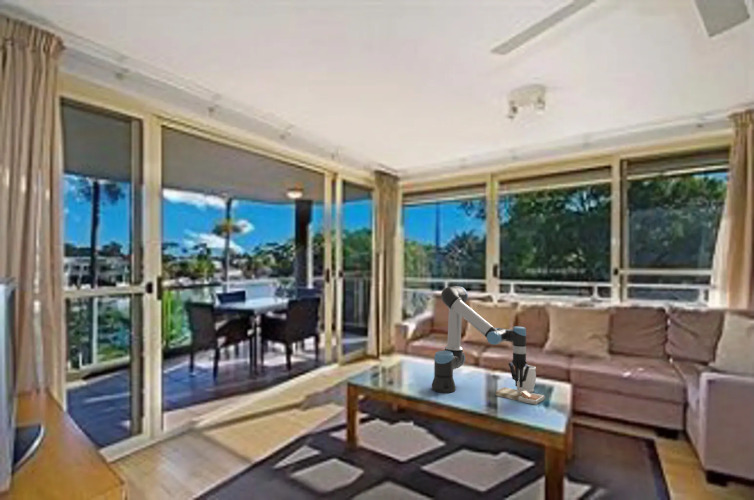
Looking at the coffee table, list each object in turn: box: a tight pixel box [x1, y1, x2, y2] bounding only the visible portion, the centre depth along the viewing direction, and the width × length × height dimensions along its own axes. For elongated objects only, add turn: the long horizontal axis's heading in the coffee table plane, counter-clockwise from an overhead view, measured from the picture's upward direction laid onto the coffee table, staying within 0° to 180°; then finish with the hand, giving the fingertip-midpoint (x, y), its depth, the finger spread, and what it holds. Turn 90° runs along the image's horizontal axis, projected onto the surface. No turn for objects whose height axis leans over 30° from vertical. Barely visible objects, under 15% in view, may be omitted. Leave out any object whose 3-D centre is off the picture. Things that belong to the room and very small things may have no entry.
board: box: [495, 386, 523, 401], centre depth 268 cm, size 14×12×2 cm
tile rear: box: [521, 390, 531, 399], centre depth 262 cm, size 4×4×2 cm
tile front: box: [529, 395, 540, 400], centre depth 259 cm, size 4×4×2 cm
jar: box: [519, 364, 537, 393], centre depth 280 cm, size 11×10×15 cm
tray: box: [517, 392, 546, 406], centre depth 260 cm, size 10×14×2 cm
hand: (518, 392), depth 265 cm, fingers closed
